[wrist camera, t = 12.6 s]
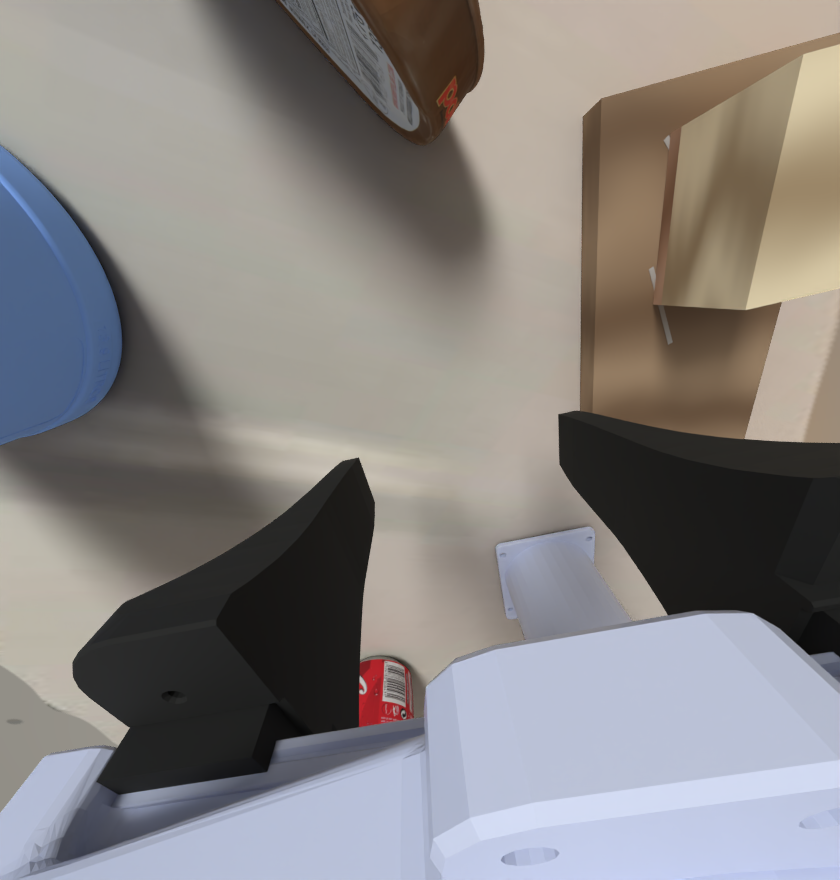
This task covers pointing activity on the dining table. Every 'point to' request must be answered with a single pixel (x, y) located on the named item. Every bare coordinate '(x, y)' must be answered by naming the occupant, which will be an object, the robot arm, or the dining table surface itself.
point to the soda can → (384, 691)
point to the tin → (400, 55)
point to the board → (635, 263)
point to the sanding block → (756, 194)
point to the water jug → (49, 311)
